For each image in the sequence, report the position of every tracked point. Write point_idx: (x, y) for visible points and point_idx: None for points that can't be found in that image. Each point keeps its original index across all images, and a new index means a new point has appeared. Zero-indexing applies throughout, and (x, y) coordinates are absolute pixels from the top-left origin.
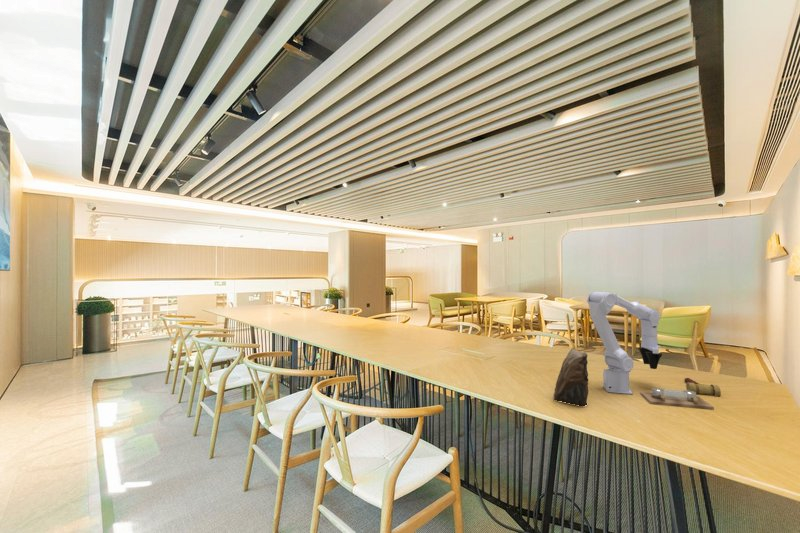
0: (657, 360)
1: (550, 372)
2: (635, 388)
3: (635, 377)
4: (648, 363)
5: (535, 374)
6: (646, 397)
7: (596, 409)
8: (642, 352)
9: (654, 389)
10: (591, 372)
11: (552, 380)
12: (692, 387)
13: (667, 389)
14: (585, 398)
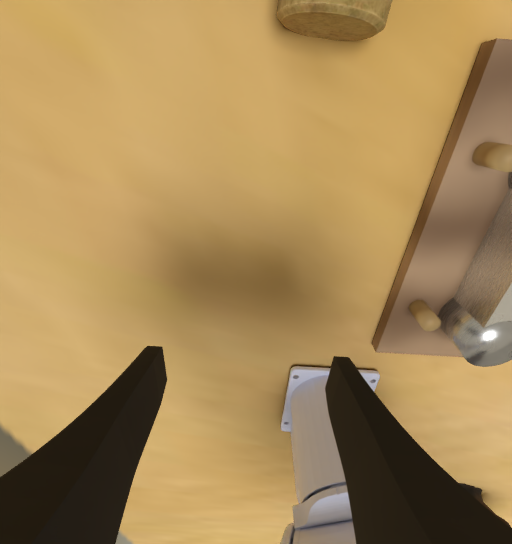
0: (415, 456)
1: (147, 502)
2: (283, 334)
3: (51, 268)
4: (159, 361)
5: (190, 525)
6: (457, 356)
7: (506, 477)
8: (111, 540)
9: (493, 359)
10: (70, 416)
11: (242, 508)
12: (390, 5)
13: (510, 298)
14: (510, 526)
